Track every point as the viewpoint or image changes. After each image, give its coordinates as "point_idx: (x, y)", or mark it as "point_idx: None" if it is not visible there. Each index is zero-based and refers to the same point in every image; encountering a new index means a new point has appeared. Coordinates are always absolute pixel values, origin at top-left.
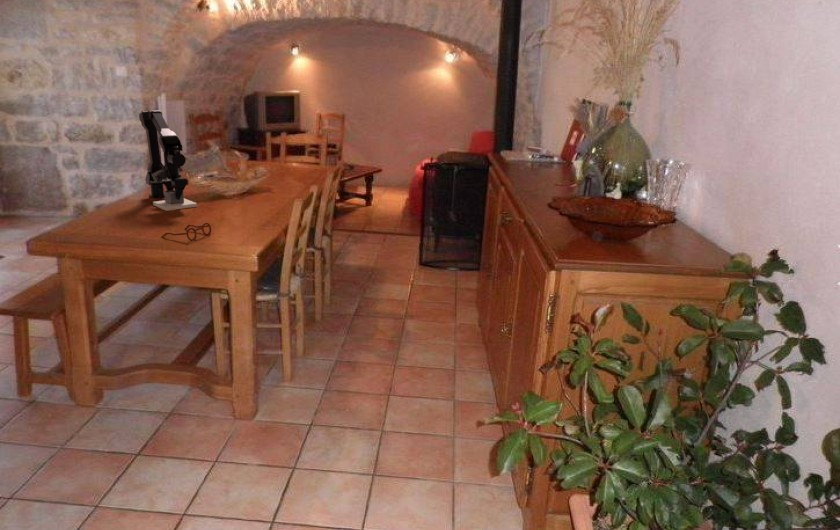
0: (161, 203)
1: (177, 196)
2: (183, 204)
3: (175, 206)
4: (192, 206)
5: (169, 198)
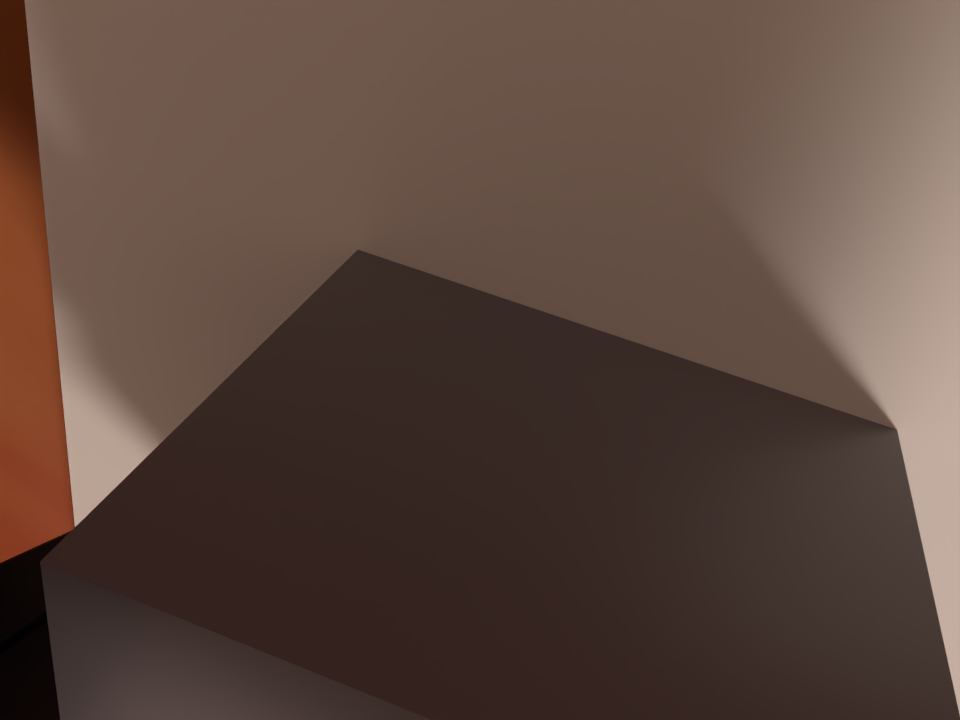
0: (850, 167)
1: (8, 576)
2: (137, 454)
3: (44, 154)
4: None
5: (350, 405)
